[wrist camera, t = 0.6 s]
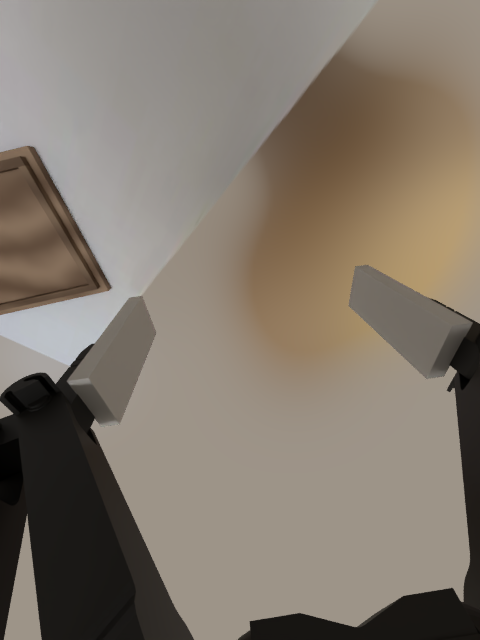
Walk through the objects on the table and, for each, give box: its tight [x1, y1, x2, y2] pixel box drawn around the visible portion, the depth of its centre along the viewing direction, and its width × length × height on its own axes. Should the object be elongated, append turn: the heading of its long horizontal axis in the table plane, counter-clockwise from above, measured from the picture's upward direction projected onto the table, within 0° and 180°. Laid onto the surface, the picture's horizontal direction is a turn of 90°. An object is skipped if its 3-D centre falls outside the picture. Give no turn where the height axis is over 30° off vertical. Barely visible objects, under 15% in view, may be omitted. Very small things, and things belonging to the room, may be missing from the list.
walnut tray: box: [0, 146, 111, 315], centre depth 35 cm, size 21×21×2 cm
